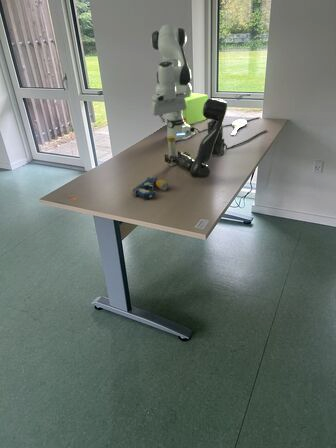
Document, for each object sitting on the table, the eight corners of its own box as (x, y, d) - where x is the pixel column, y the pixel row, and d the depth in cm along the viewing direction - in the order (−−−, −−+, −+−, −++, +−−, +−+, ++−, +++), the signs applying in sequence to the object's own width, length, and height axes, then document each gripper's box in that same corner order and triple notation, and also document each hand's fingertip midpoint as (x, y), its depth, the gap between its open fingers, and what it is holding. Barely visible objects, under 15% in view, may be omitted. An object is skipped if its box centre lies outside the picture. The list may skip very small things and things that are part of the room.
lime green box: (191, 115, 302) (190, 88, 290) (208, 118, 288) (208, 90, 276) (170, 121, 289) (168, 93, 277) (187, 125, 275) (185, 95, 263)
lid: (169, 142, 192) (168, 138, 191) (165, 140, 196) (165, 136, 195) (176, 140, 194) (176, 137, 193) (173, 138, 198) (173, 135, 196)
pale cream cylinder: (171, 166, 200) (169, 139, 192) (168, 164, 204) (166, 137, 195) (177, 165, 202) (175, 137, 193) (174, 162, 205) (172, 136, 196)
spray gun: (173, 183, 178) (149, 181, 184) (172, 176, 176) (148, 174, 182) (155, 202, 162) (129, 198, 169) (154, 194, 160) (128, 191, 167)
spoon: (240, 137, 241) (240, 135, 240) (225, 137, 245) (225, 134, 244) (248, 121, 267) (248, 119, 266) (234, 121, 271) (234, 118, 270)
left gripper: (181, 91, 188) (183, 116, 195) (148, 97, 181) (151, 122, 188) (187, 92, 183) (188, 118, 190) (153, 98, 176) (156, 125, 183)
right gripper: (195, 153, 188) (181, 145, 201) (173, 158, 183) (160, 150, 196) (196, 165, 192) (182, 157, 205) (174, 171, 187) (161, 162, 200)
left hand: (169, 120), depth 189 cm, fingers open, 7 cm apart
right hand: (171, 154), depth 200 cm, fingers open, 8 cm apart
